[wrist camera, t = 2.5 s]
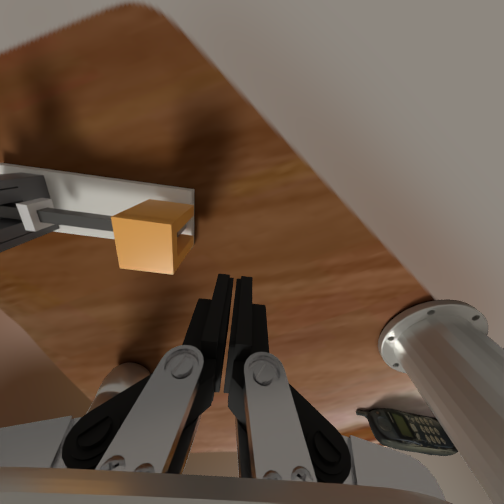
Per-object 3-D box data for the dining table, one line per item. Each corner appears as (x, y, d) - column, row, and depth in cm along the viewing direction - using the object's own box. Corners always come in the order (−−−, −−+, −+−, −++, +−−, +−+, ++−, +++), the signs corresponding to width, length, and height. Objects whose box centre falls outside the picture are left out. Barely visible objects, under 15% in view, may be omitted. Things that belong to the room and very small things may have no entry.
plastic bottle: (106, 369, 33) (-75, 633, 15) (128, 349, 31) (-52, 629, 13) (141, 388, 35) (18, 641, 17) (165, 370, 33) (51, 640, 15)
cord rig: (194, 189, 20) (162, 209, 14) (194, 244, 23) (167, 284, 16) (3, 162, 20) (-129, 170, 13) (25, 223, 22) (-75, 255, 16)
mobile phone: (466, 451, 32) (376, 440, 31) (453, 460, 33) (367, 449, 32) (440, 414, 37) (360, 403, 35) (429, 423, 38) (353, 412, 36)
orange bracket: (193, 204, 19) (171, 224, 14) (193, 244, 21) (173, 274, 16) (149, 199, 19) (110, 216, 14) (152, 239, 21) (119, 268, 16)
